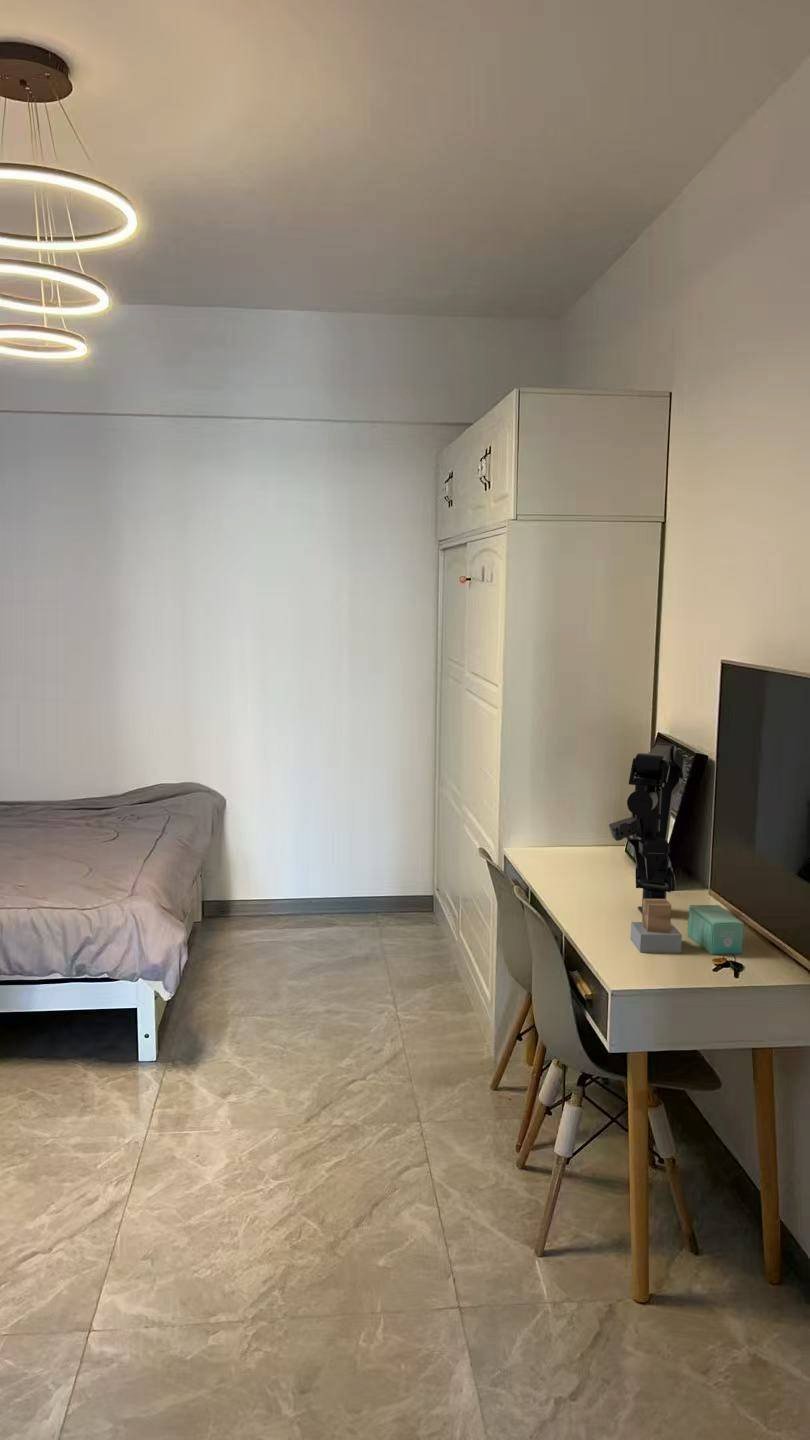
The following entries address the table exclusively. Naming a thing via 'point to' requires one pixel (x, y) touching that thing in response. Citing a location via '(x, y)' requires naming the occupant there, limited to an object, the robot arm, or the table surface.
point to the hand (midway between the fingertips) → (644, 874)
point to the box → (715, 929)
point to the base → (655, 939)
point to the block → (656, 915)
